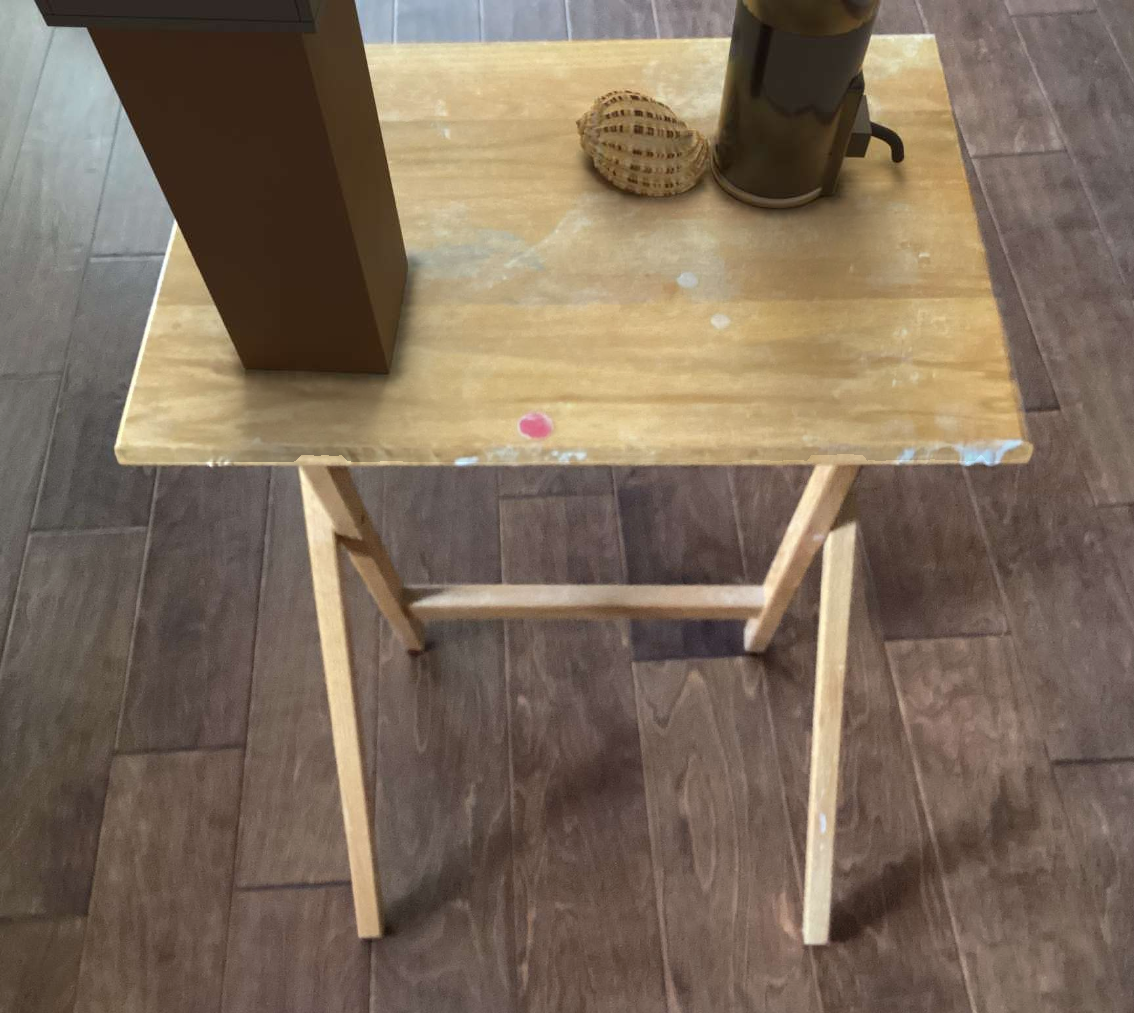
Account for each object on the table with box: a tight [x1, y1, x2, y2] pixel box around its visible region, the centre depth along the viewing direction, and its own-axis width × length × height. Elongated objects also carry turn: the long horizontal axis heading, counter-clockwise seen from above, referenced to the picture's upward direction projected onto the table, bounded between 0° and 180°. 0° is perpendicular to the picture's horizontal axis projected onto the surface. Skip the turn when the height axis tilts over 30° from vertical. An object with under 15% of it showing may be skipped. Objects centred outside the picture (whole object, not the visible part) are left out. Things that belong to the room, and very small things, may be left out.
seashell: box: [575, 90, 712, 197], centre depth 75 cm, size 8×6×10 cm
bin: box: [33, 0, 409, 374], centre depth 56 cm, size 12×12×32 cm
